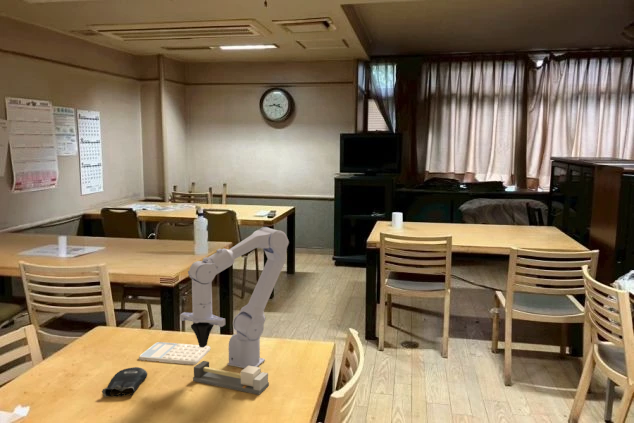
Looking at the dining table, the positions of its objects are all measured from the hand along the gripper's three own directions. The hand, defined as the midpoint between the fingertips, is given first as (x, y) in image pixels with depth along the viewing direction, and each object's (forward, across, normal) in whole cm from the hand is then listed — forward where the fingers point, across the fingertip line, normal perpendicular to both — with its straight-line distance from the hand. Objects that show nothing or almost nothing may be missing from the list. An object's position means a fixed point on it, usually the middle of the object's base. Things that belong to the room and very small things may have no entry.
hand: (203, 346), depth 153 cm
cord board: (+9, +10, -1) cm, 14 cm away
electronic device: (+10, -17, -13) cm, 24 cm away
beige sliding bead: (+8, +17, -1) cm, 18 cm away
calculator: (+10, -18, +10) cm, 23 cm away
